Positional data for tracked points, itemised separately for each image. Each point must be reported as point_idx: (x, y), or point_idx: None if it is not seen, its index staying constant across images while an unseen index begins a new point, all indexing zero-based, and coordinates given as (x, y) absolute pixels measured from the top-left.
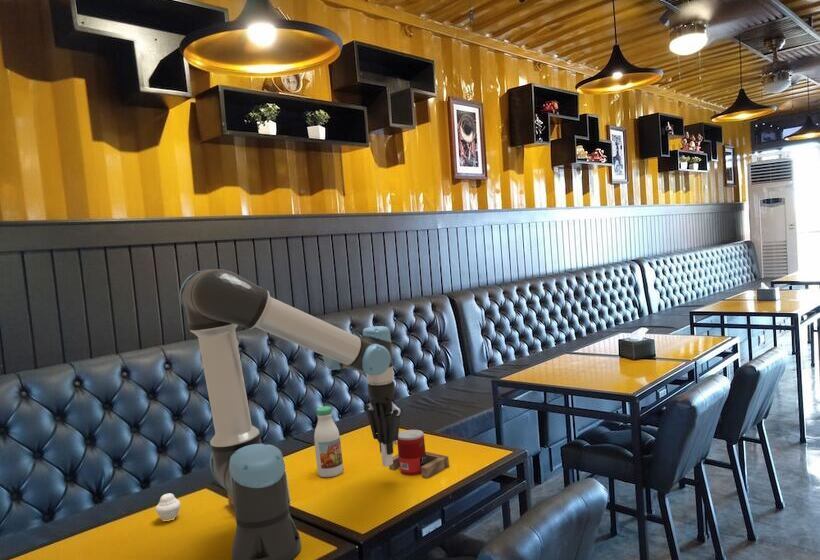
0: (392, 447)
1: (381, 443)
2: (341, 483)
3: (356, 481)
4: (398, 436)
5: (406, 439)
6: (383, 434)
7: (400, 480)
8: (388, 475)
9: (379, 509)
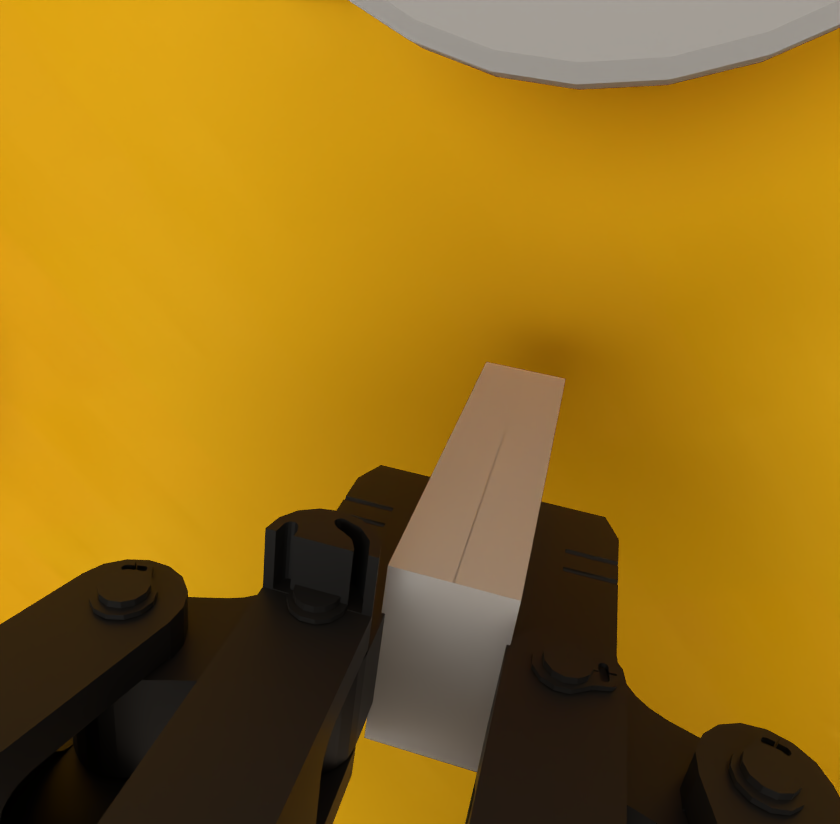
0: (615, 609)
1: (391, 744)
2: (123, 469)
3: (203, 402)
4: (386, 3)
5: (753, 57)
6: (313, 815)
7: (634, 247)
8: (404, 163)
9: None
